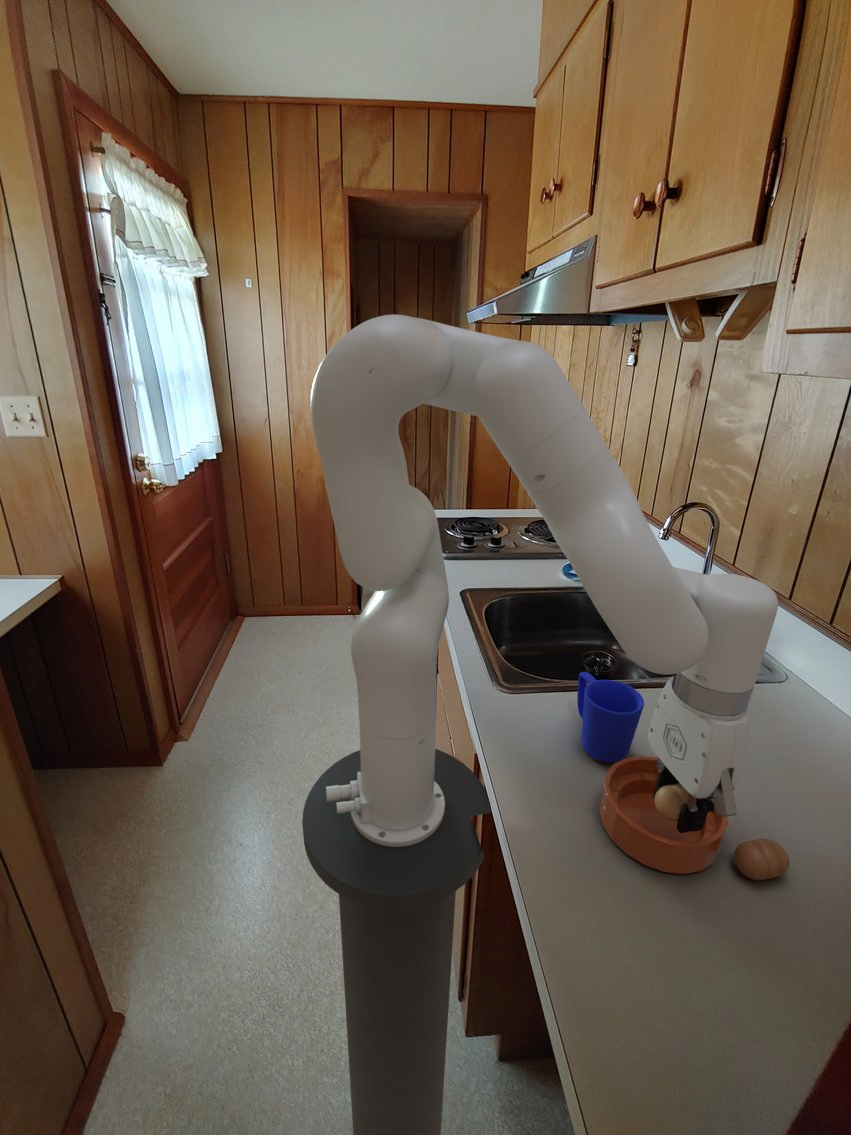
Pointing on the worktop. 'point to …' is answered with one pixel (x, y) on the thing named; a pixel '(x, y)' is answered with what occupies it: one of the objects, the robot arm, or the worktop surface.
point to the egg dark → (761, 859)
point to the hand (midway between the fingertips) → (677, 812)
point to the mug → (608, 717)
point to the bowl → (654, 822)
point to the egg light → (671, 800)
